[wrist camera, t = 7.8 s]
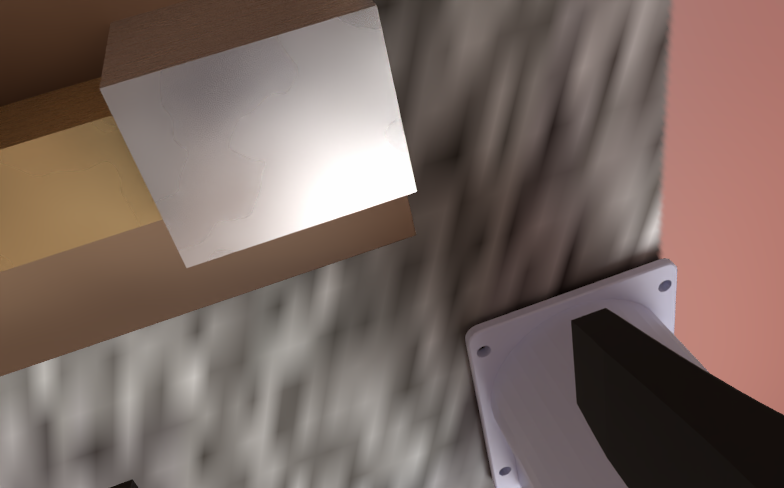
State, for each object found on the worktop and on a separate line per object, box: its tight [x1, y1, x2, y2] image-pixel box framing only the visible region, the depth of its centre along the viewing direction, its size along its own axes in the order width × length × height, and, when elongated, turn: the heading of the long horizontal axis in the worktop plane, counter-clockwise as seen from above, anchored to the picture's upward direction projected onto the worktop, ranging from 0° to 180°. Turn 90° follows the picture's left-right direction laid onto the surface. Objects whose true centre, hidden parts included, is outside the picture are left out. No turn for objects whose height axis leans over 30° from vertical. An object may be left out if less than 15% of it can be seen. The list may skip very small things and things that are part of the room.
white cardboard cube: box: [99, 0, 417, 268], centre depth 15 cm, size 4×5×4 cm
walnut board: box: [0, 0, 416, 376], centre depth 17 cm, size 12×15×1 cm
